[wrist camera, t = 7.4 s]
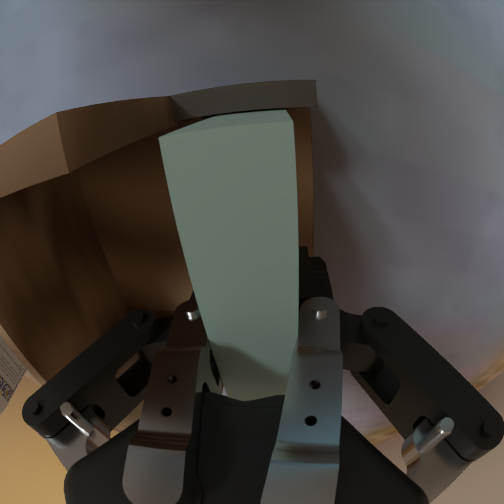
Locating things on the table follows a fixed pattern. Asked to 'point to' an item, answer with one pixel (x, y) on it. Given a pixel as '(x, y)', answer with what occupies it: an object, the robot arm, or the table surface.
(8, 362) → the bath foam
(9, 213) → the cabinet
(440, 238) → the table surface
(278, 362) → the block
